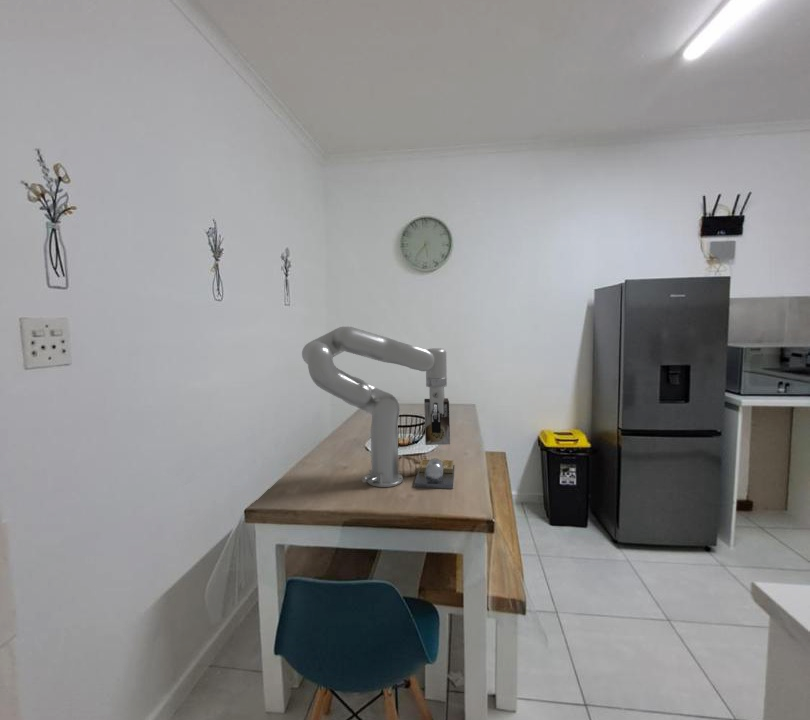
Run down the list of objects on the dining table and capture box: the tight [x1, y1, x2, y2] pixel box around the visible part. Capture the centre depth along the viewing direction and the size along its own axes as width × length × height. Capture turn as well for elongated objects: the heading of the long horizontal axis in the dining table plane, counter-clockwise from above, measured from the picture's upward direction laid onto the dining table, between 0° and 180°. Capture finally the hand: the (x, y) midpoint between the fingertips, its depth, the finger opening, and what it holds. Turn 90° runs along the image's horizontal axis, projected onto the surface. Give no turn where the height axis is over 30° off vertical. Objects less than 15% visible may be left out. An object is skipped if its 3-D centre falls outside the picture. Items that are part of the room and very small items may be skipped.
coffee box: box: [423, 397, 451, 446], centre depth 156 cm, size 9×6×16 cm
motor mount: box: [414, 458, 455, 490], centre depth 153 cm, size 20×13×8 cm, turn 172°
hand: (436, 429), depth 157 cm, fingers closed on coffee box, 6 cm apart
